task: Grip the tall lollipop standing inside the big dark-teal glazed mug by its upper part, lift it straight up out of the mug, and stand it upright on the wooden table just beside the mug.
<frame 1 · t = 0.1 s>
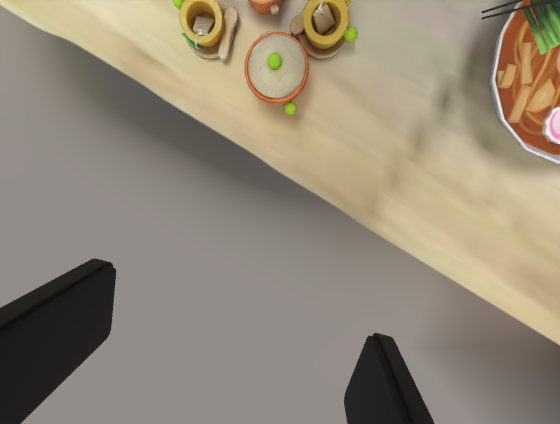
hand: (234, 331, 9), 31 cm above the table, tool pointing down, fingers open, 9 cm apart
ramen bowl: (545, 73, 33), on the table
toy tea set: (251, 24, 35), on the table
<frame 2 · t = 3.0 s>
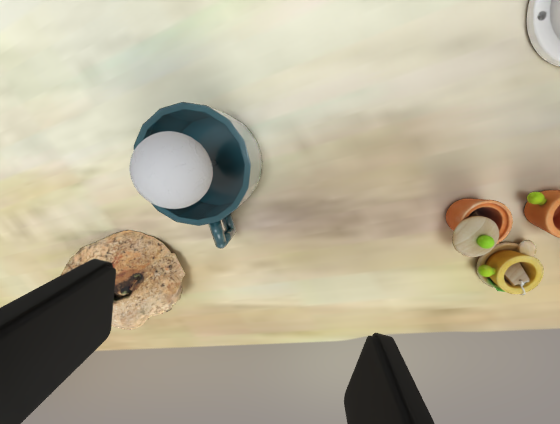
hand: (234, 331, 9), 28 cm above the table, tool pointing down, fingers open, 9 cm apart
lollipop: (214, 162, 35), resting in mug
tan irregular piece: (136, 268, 41), on the table
mug: (215, 162, 36), on the table
toy tea set: (535, 235, 34), on the table
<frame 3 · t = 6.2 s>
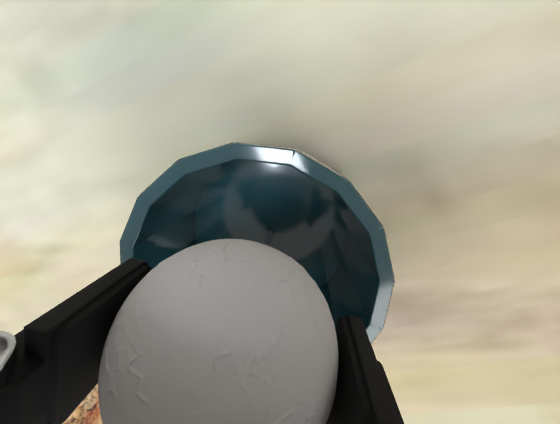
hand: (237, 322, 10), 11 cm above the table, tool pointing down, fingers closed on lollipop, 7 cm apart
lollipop: (270, 233, 20), resting in mug, touching gripper
tan irregular piece: (135, 395, 25), on the table
mug: (270, 232, 20), on the table
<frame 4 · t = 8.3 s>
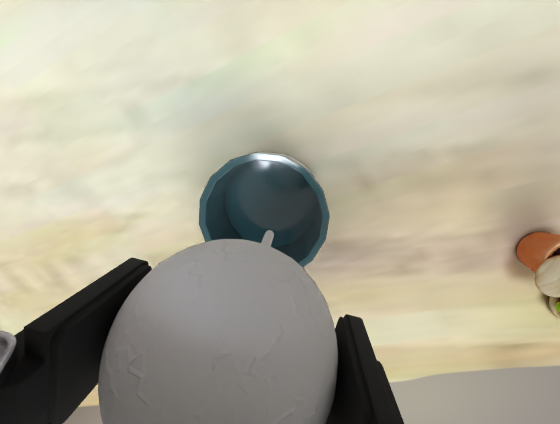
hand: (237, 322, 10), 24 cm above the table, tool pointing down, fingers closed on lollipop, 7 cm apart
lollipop: (269, 233, 20), point 14 cm above the table, touching gripper
mug: (270, 203, 34), on the table
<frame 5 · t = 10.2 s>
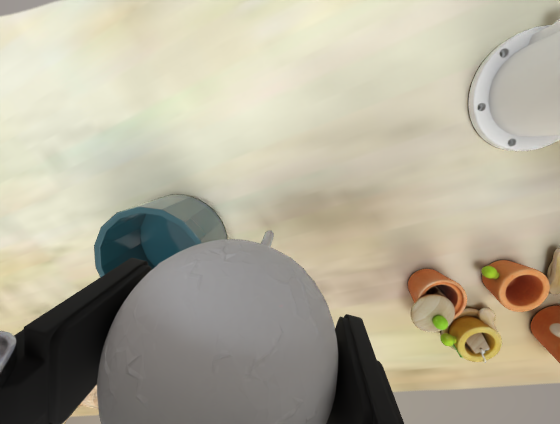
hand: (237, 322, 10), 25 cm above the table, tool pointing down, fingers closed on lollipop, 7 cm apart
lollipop: (269, 233, 20), point 15 cm above the table, touching gripper
mug: (182, 239, 36), on the table
toy tea set: (495, 299, 35), on the table
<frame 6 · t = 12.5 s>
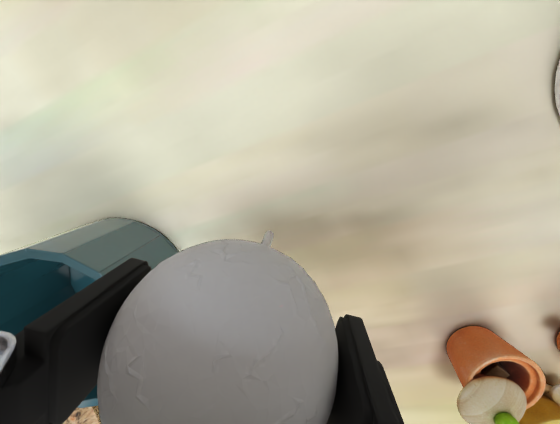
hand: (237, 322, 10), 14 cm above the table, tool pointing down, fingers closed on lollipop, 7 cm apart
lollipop: (270, 233, 20), point 4 cm above the table, touching gripper
tan irregular piece: (44, 402, 31), on the table
mug: (127, 279, 26), on the table
when the fingers open (10 cm above the table, at t = 14.1 s): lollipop stays where it is, on the table.
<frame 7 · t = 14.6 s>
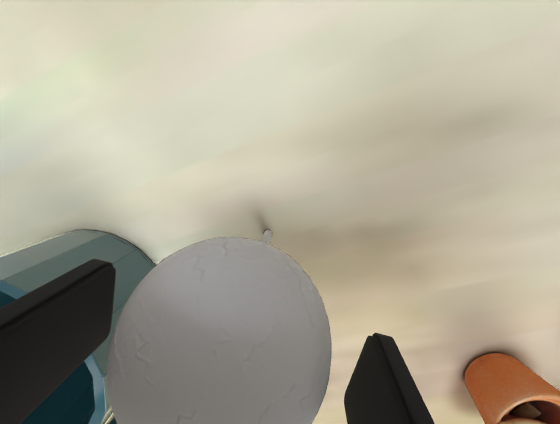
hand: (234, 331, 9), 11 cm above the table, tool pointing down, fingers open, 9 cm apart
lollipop: (268, 232, 20), on the table
mug: (100, 299, 23), on the table
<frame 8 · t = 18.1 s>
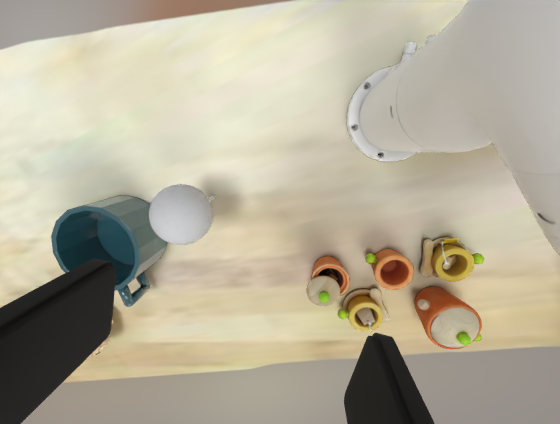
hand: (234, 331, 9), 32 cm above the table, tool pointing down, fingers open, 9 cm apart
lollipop: (214, 196, 42), on the table
mug: (131, 232, 44), on the table
toy tea set: (385, 282, 43), on the table
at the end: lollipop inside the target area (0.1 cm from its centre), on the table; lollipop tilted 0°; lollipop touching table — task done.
